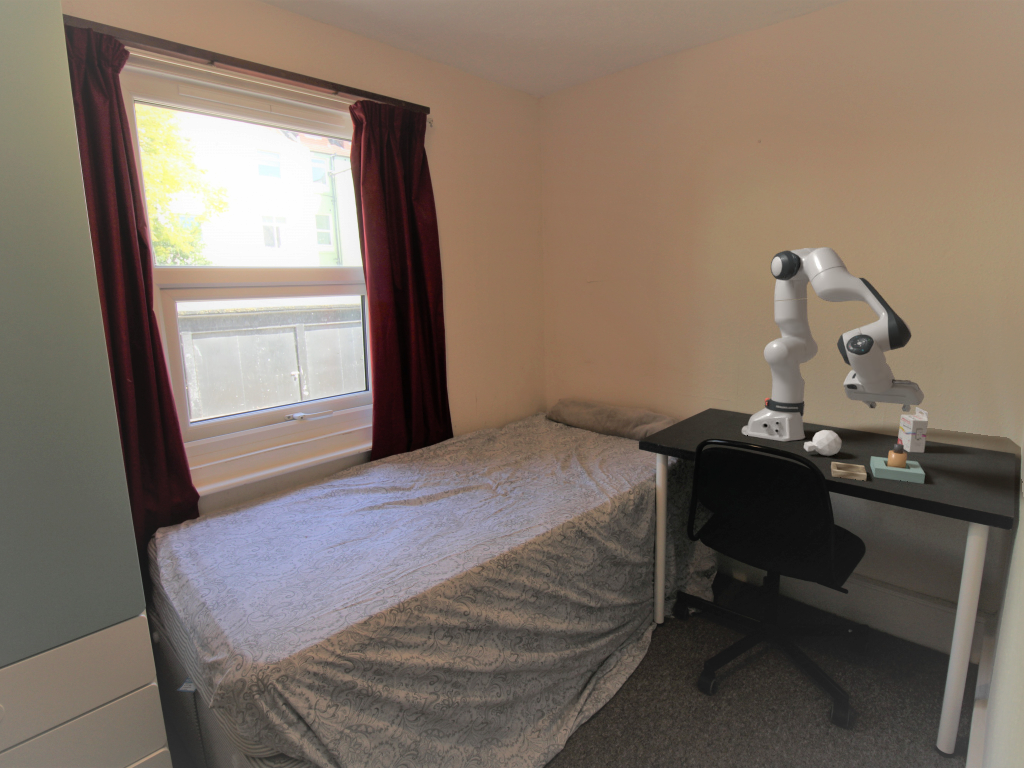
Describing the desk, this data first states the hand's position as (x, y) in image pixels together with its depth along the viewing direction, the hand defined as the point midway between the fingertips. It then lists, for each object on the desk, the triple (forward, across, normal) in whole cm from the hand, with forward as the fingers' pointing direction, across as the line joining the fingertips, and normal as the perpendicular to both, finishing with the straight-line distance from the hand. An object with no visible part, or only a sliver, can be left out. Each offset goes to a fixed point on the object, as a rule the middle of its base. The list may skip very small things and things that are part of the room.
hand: (889, 408), depth 165 cm
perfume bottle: (+11, +20, +15) cm, 27 cm away
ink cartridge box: (+33, +5, -8) cm, 34 cm away
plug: (+12, -3, +16) cm, 21 cm away
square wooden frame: (+4, +5, +24) cm, 25 cm away
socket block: (+12, -4, +16) cm, 21 cm away
